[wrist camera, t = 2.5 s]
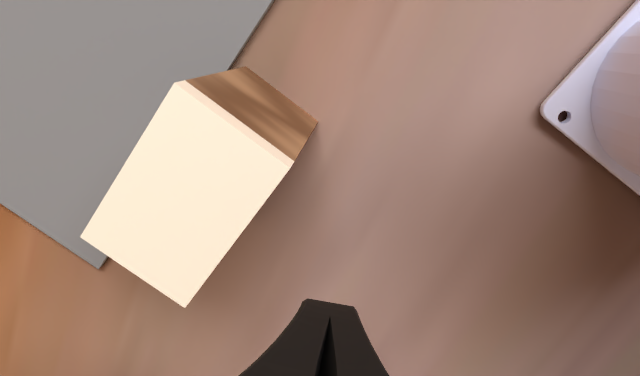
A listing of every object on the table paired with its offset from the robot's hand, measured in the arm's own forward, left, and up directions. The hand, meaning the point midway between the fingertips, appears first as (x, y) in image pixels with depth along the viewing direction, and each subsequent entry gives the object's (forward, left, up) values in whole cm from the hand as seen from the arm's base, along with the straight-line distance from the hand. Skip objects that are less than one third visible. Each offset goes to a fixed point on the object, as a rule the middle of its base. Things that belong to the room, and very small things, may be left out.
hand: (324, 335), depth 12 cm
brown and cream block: (+5, +1, -11) cm, 12 cm away
